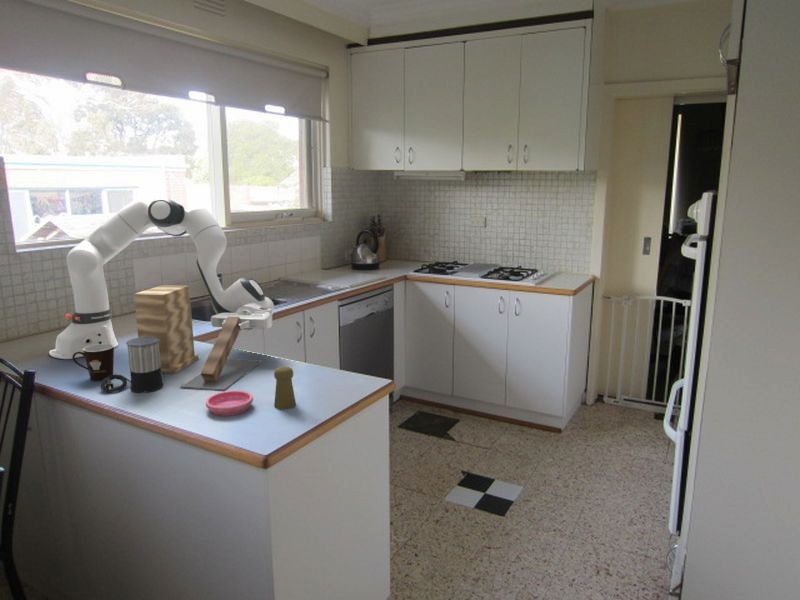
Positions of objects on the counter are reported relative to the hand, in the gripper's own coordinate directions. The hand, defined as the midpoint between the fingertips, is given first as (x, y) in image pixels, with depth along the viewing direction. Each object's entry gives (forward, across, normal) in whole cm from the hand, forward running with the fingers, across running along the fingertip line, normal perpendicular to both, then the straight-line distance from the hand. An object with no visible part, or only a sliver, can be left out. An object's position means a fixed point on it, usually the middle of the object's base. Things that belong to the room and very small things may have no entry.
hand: (231, 326), depth 188 cm
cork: (+29, +29, +14) cm, 43 cm away
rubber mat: (+7, 0, +14) cm, 16 cm away
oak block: (+2, -23, +14) cm, 27 cm away
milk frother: (+24, -21, +14) cm, 35 cm away
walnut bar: (+6, 0, +7) cm, 9 cm away
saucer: (+34, +15, +14) cm, 39 cm away
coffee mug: (+17, -38, +14) cm, 44 cm away
